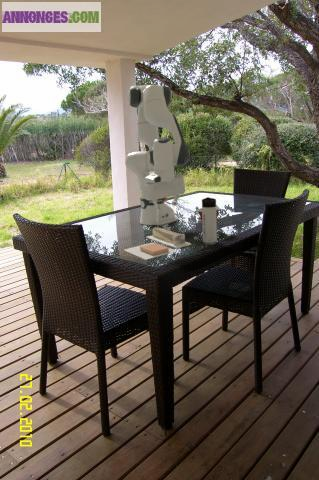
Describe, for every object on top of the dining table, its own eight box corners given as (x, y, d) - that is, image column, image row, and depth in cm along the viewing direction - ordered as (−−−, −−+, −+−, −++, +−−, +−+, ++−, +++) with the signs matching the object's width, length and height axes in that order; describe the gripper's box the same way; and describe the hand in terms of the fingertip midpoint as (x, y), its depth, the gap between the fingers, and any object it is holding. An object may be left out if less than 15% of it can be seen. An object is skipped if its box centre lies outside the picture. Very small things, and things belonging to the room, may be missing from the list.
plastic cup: (203, 228, 202) (202, 205, 199) (223, 230, 197) (223, 206, 193) (194, 233, 193) (193, 209, 190) (214, 235, 188) (214, 210, 185)
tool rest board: (160, 235, 193) (160, 233, 193) (191, 245, 174) (191, 243, 174) (146, 238, 189) (146, 236, 189) (176, 249, 170) (176, 247, 170)
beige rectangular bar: (160, 234, 191) (160, 226, 190) (184, 242, 176) (184, 234, 175) (150, 237, 188) (149, 229, 187) (174, 245, 173) (173, 236, 172)
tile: (155, 242, 174) (168, 247, 166) (155, 246, 174) (168, 251, 166) (139, 246, 170) (152, 251, 162) (140, 250, 170) (153, 255, 162)
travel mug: (215, 240, 181) (214, 196, 175) (217, 244, 174) (217, 199, 169) (201, 241, 181) (200, 197, 175) (203, 245, 174) (202, 200, 169)
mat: (153, 243, 181) (153, 242, 181) (177, 252, 166) (177, 250, 166) (123, 251, 172) (123, 249, 172) (145, 261, 158) (145, 259, 158)
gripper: (178, 172, 181) (180, 201, 186) (141, 178, 170) (143, 209, 175) (187, 173, 176) (188, 203, 181) (149, 180, 165) (151, 212, 170)
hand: (166, 206), depth 177 cm, fingers open, 8 cm apart
